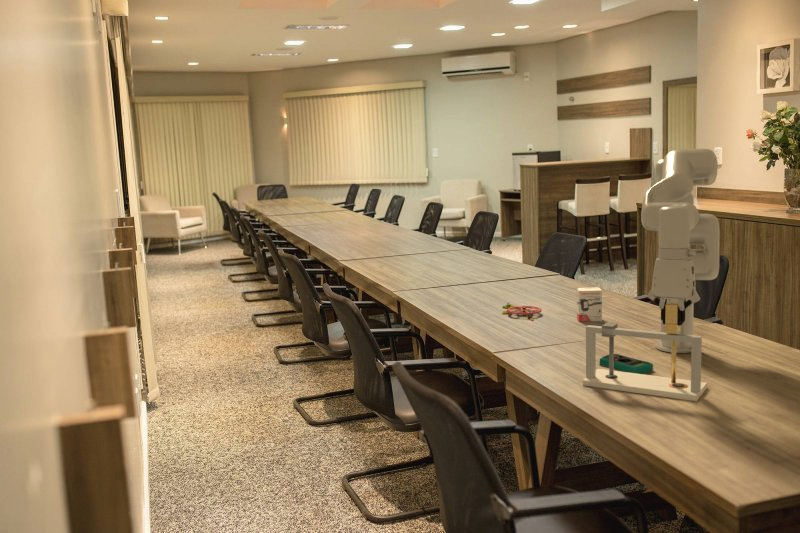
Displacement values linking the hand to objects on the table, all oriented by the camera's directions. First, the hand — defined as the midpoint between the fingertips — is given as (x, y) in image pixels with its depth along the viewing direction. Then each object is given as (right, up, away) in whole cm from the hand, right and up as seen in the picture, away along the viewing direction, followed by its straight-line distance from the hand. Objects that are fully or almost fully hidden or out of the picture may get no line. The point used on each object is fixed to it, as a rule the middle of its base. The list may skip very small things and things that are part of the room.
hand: (672, 323), depth 206 cm
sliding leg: (+1, -16, +3) cm, 17 cm away
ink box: (-1, -5, +86) cm, 86 cm away
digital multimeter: (-5, -16, +26) cm, 31 cm away
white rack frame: (-5, -18, +8) cm, 20 cm away
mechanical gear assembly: (-24, -4, +103) cm, 106 cm away
